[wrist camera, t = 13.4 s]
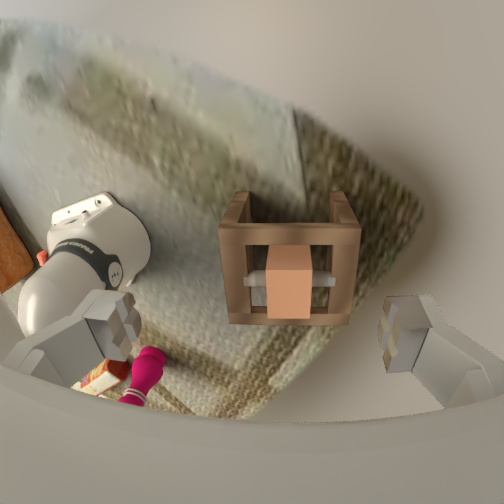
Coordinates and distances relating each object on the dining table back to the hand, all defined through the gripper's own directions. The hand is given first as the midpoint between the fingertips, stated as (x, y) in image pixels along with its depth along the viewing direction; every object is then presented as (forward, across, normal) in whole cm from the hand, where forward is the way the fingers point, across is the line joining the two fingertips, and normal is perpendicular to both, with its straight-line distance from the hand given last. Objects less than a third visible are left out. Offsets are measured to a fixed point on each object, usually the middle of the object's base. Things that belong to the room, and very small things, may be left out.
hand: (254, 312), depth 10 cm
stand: (+37, -1, +15) cm, 40 cm away
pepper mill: (+37, +30, +46) cm, 66 cm away
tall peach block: (+29, -1, +15) cm, 33 cm away
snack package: (+38, +48, +56) cm, 82 cm away
